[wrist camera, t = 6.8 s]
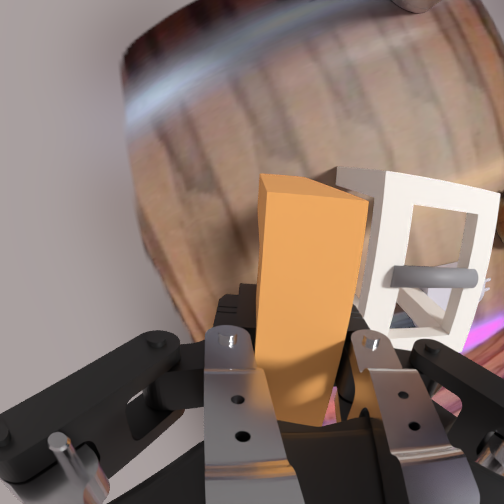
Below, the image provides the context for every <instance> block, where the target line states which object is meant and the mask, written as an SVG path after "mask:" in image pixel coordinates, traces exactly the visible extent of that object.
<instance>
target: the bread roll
mask: <svg viewBox="0 0 504 504" xmlns="http://www.w3.org/2000/svg"><path fill="white" fill-rule="evenodd" d="M496 228H497V232H498V235H499V236H500V238H501V239H502V240H501V241H502V242H503V243H504V193H503V194H502V197H501V198H500V202H499V210H498V217H497V223H496Z"/></svg>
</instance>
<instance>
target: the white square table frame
mask: <svg viewBox="0 0 504 504" xmlns="http://www.w3.org/2000/svg"><path fill="white" fill-rule="evenodd" d="M336 185H337V186H340V187H343V188H347V189H350V190H353V191H356V192H359V193H362V194H365V195H368V196H371V197H374V198H375V199H374V208H373V216H372V224H371V232H370V239H369V246H368V253H367V259H366V265H365V271H364V277H363V283H362V288H361V294H360V299H359V298H358V297H357V295H356V294H355V295H354V300H353V304H354V305H355V306H356V307H357V309H358V311H359V313H360V314H361V315H362V317H363V318H364V320H365V322H366V323H367V325H368V326H369V328H370V330H374V331H378V332H380V333H382V334H384V335H386V336H387V337H388V338H389V339H390V341H391V343H392V345H393V348H396V349H403V350H409V351H411V350H412V347H413V344H414V342H415V341H417V340H419V339H432V340H436V341H438V342H441V343H442V344H444V345H446V346H448V347H449V348H451V349H453V350H455V351H456V352H462V349H463V347H464V344H465V341H466V339H467V336H468V333H469V330H470V327H471V324H472V321H473V318H474V315H475V312H476V309H477V306H478V302H479V299H480V295H481V292H482V288H483V284H484V281H485V277H486V273H487V268H488V264H489V260H490V255H491V250H492V246H493V240H494V235H495V229H496V223H497V217H498V210H499V202H500V193H496V192H492V191H488V190H484V189H480V188H475V187H471V186H466V185H462V184H457V183H452V182H447V181H442V180H437V179H432V178H427V177H421V176H415V175H410V174H404V173H397V172H391V171H384V170H374V169H364V168H354V167H342V166H337V175H336ZM413 205H421V206H428V207H435V208H442V209H448V210H455V211H461V212H467V215H466V221H465V228H464V234H463V239H462V245H461V250H460V255H459V259H458V264H457V268H450V267H428V266H407V265H404V262H405V257H406V251H407V246H408V240H409V233H410V227H411V220H412V212H413ZM419 288H452V289H451V293H450V297H449V301H448V304H447V308H446V311H444V310H443V309H442V308H441V307H440V306H438V305H437V304H436V303H435V302H434V301H433V300H432V299H431V298H429V297H428V296H427V295H426V294H425V293H424V292H423V291H421V290H420V289H419ZM396 302H397V303H398V305H399V306H400V307H401V308H402V309H403V310H404V311H405V312H406V313H407V314H408V316H409V317H410V318H411V319H412V320H413V321H414V322H415V323H416V325H417V326H418V327H419V328H398V329H390V325H391V321H392V317H393V313H394V309H395V305H396Z"/></svg>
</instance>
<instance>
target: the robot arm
mask: <svg viewBox="0 0 504 504" xmlns="http://www.w3.org/2000/svg"><path fill="white" fill-rule="evenodd" d="M392 1H393V2H394V3H395V4H397V5H398V6H400V7H401V8H403V9H405V10H407V11H410V12H414V13H423V12H426V11H428V10H429V9H430V8H432V7H433V6H434V5H436V4H437V3H439V2H440V1H441V0H392ZM256 291H257V284H242V283H240V287H239V295H231V294H226V295H224V296H223V297H222V298H221V299H219V303H218V307H217V312H216V316H215V320H214V324H213V328H211V329H209V330H208V331H207V332H206V334H205V340H203V341H200V342H197V343H191V344H181V345H180V340H179V338H178V337H177V336H176V335H174V334H173V333H170V332H167V331H160V330H156V331H149V332H145V333H143V334H141V335H139V336H137V337H135V338H134V339H132V340H130V341H129V342H127V343H125V344H123V345H122V346H120V347H118V348H116V349H115V350H113V351H112V352H109V353H108V354H106V355H104V356H102V357H101V358H99V359H98V360H95V361H94V362H92V363H90V364H88V365H87V366H85V367H84V368H82V369H80V370H78V371H77V372H75V373H73V374H71V375H69V376H68V377H66V378H64V379H62V380H60V381H59V382H57V383H55V384H53V385H51V386H50V387H48V388H46V389H45V390H43V391H41V392H39V393H37V394H36V395H34V396H32V397H30V398H28V399H27V400H25V401H23V402H21V403H19V404H18V405H16V406H14V407H12V408H10V409H9V410H7V411H5V412H3V413H1V414H0V480H1V481H2V482H3V483H4V485H5V486H6V487H7V488H8V489H9V490H10V492H11V493H12V494H13V495H14V496H15V497H16V498H17V499H18V500H19V501H20V502H22V503H23V504H102V503H103V501H104V500H105V499H106V498H107V496H108V494H109V490H110V484H109V480H108V479H109V478H111V477H112V476H113V475H114V474H116V473H117V472H118V471H119V470H120V469H122V468H123V467H124V466H125V465H126V464H128V463H129V462H130V461H131V460H132V459H133V458H135V457H136V456H137V455H138V454H139V453H141V452H142V451H143V450H144V449H145V448H146V447H147V446H149V445H150V444H151V443H152V442H153V441H154V440H155V439H157V438H158V437H159V436H160V435H161V434H162V433H163V432H164V431H165V430H167V429H168V428H169V427H170V426H171V425H172V424H173V423H174V422H175V421H176V420H178V419H179V418H180V417H181V416H182V415H183V413H184V411H185V409H190V408H198V407H204V441H202V442H200V443H198V444H197V445H196V446H194V447H193V448H191V449H190V450H189V451H187V452H186V453H184V454H183V455H182V456H180V457H179V458H177V459H176V460H175V461H173V462H172V463H170V464H169V465H167V466H166V467H164V468H163V469H161V470H160V471H158V472H157V473H155V474H154V475H152V476H151V477H149V478H148V479H146V480H145V481H143V482H142V483H140V484H139V485H137V486H135V487H134V488H132V489H131V490H129V491H127V492H126V493H124V494H122V495H121V496H119V497H117V498H116V499H114V500H112V501H111V502H109V503H107V504H504V379H502V378H501V377H499V376H497V375H496V374H494V373H492V372H490V371H489V370H487V369H485V368H484V367H482V366H480V365H479V364H477V363H475V362H473V361H472V360H470V359H468V358H467V357H465V356H463V355H461V354H460V353H458V352H456V351H455V350H453V349H451V348H449V347H448V346H446V345H444V344H442V343H441V342H438V341H436V340H432V339H419V340H417V341H415V342H414V344H413V347H412V350H411V351H409V350H403V349H396V348H393V345H392V343H391V341H390V339H389V338H388V337H387V336H386V335H384V334H382V333H380V332H378V331H374V330H370V328H369V326H368V325H367V323H366V322H365V320H364V318H363V317H362V315H361V314H360V313H359V311H358V309H357V307H356V306H355V305H354V304H353V305H352V310H351V315H350V320H349V324H348V329H347V333H346V338H345V342H344V346H343V350H342V355H341V359H340V363H339V367H338V371H337V374H336V378H335V382H334V386H337V392H336V395H335V399H334V402H335V411H336V421H337V423H334V424H330V425H326V426H322V427H316V426H309V425H303V424H297V423H292V422H286V421H281V420H277V419H276V415H275V411H274V407H273V404H272V400H271V396H270V392H269V388H268V384H267V380H266V376H265V372H264V370H263V368H257V364H256V360H255V355H254V348H255V335H256ZM438 383H439V384H440V385H442V386H443V387H445V388H446V389H448V390H449V391H451V392H452V393H454V394H455V395H457V396H458V397H459V398H460V399H461V401H462V410H461V412H460V413H459V415H458V417H456V416H454V415H453V414H452V413H450V412H449V411H447V410H446V409H445V408H443V407H442V406H440V405H439V404H437V403H436V402H435V401H433V400H432V399H431V398H432V396H433V393H434V391H435V389H436V387H437V385H438ZM140 391H143V393H142V394H141V395H139V396H138V397H137V398H135V399H134V400H133V401H131V402H130V403H128V401H129V400H130V399H131V398H132V397H133V396H135V395H136V394H137V393H139V392H140ZM127 403H128V404H127Z"/></svg>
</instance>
